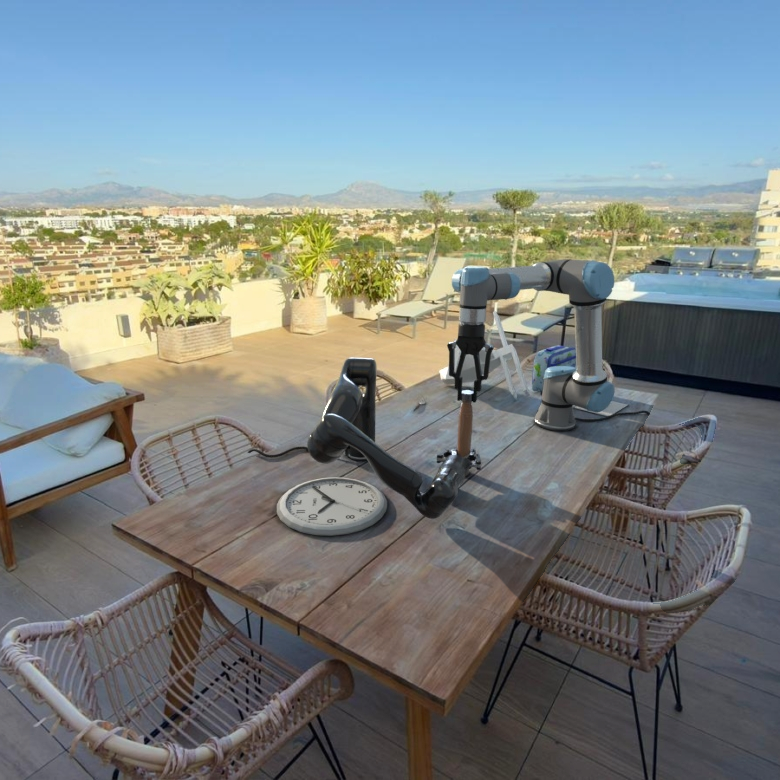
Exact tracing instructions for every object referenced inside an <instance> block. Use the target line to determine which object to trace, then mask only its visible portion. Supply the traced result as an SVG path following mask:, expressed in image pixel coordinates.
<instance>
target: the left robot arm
mask: <svg viewBox="0 0 780 780" xmlns="http://www.w3.org/2000/svg"><path fill="white" fill-rule="evenodd" d="M377 365H378V364H377V361H376V360H375V358H369V357H348V358H346V359H345V360H344V361H343V364H342V366H341V370H340V372H339V377H338V379H337V381H336V383H335V385H334V387H333V389H332V391H331V393H330V394H329V397H328V399H327V401H326V403H325V407H324V409H323V412H322V415H321V418H320V420H319V422H318V423H317V424H316V426H315V427H314V428H313V430H312V431H311V433H310V435H308V439H307V446H295V447H290V448H289V449H286V450H285V451H282V452H280V453H276V454H269V453H268V454H267V453H264V451H261V450H260V449H257V448H251V449H249V450H248V451H247V454H251V453H252V452H255V453H257V454H259V455H260V456H263V457H264V458H265V457H266V458H271V459H272V458H278V457H282V456H284V455H286V454H288V453H291V452H293V451H296V450H306V451H308V453H309V455H310V457H311V458H312V459H313V460H314V461H316V462H317V463H320V464H324V465H328V464H332V463H334V462H336V461H338V460H339V459H340V458H341V456H342V455H343V454H344V456H345V457H347V458H349V459H351V460H353V461H367V462H368V464H369V465H370V467H371V469H372V471H373V472H374V475H375V476H376V477H377V479H378V481H380V483H382V484H383V485H384V486H386V487H387V488H389V489H391V490H392V491H394V492H396V493H397V494H399V495H401V496H403V497H404V498H405V499H406V500H407V501H408V502H409V503H410V504H411V505H412V506H413V507H414V508H415V509H416V510H417V511H418V512H419V513H420V514H421V515H422V516H423V517H424V518H427V519H431V520H434V519H435V520H436V519H438V518H440V517H441V516H442V515H443V514H444V513H445V511H446V510H447V509H449V508H450V506H451V505H452V504H453V503H454V502H455V500H456V499H457V497H458V490H459V488H460V486H461V485H462V484H463V483H464V480H465V479H466V476H468V475H467V473H468V470H469V471H470V470H471V469H472V468H475V469H476V470H477V471H481V470H482V460H481V459H482V458H481V457H480V454H479V453H477V450H476V449H475V448H474V447H471V451H470V453H469V454H465V455H464V456H459V455H457V446H454V447H453V449H451V450H450V449H447V448H446V449H444V450H442V451H441V452H439V453H437V454H436V463H437V464H440V463H441V465H440V466H439V467H438V470H437V473H436V474H435V476H434V477H433V479H432V482H431V484H430V485H429V486H428V487H427V489H426V490H425V491H424V492H422V491H421V490H420V489H421V487H422V485H423V481H424V480H423V479H424V478H423V475H422V474H421V473H420V472H419V471H417V470H416V469H414V468H413V467H410V466H409V465H407V464H405V463H404V462H402V461H400V460H398V459H397V458H396V457H394V456H393V455H392V454H390V453H388V451H386V450H384V448H382V446H380V445H378V443H376V399H377V398H376V397H377V395H376V392H377V376H378V375H377V373H378V366H377ZM361 388H365V389H364V390H363V391H362V390H361Z"/></svg>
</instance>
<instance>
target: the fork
mask: <svg viewBox="0 0 780 780" xmlns="http://www.w3.org/2000/svg"><path fill="white" fill-rule="evenodd" d="M427 399H428V397H424V396H422V397H421V398H420V400H419V402H418V403H419V404H417V405H416V406H415V408H413V412H415V411H416V410H419V408H420V406H421V405H425V404H426V403H427Z"/></svg>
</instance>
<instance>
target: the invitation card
mask: <svg viewBox="0 0 780 780" xmlns="http://www.w3.org/2000/svg"><path fill="white" fill-rule="evenodd" d="M628 406H629V404H627V403H623V402H618V401H614V400H612V401H611V402H610V404H609V405H608V407H607V408H606V409H604V410H603V411H601V412H593V411H588V410H586V409H584V408H581V407H578V406H574V407H573V409H575V410H581V411H584V412H587V413H593V414H596V415H600V416H604V417H607V416H610V415H613V414H617V413H619V411H621V410H623V409H624V408H626V407H628Z"/></svg>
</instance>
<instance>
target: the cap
mask: <svg viewBox="0 0 780 780" xmlns="http://www.w3.org/2000/svg"><path fill="white" fill-rule="evenodd" d="M473 391H474V390H469V389H465V390H463V389H462V391H461V394H460V401H461V402H462V401H463V402H472V403H473Z"/></svg>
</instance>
